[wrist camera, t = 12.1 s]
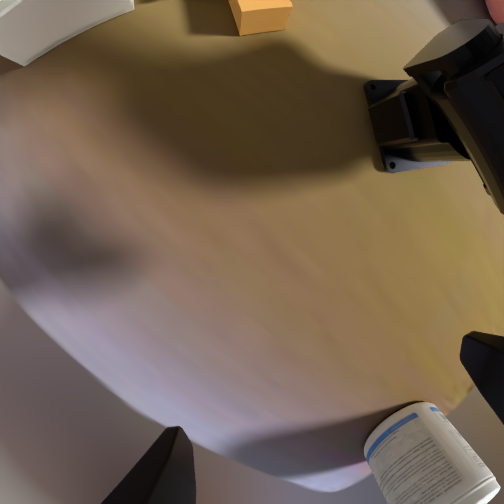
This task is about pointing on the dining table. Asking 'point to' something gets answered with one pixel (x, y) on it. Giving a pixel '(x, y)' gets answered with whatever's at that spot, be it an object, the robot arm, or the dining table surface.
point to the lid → (260, 15)
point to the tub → (50, 23)
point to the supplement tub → (426, 460)
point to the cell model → (496, 10)
